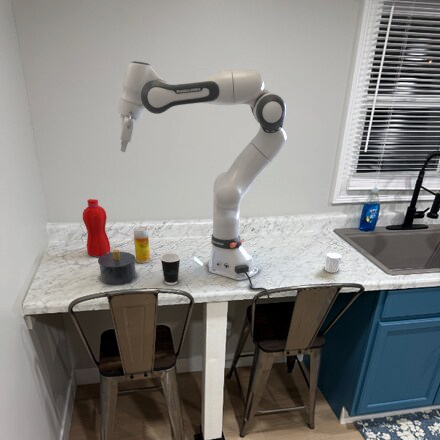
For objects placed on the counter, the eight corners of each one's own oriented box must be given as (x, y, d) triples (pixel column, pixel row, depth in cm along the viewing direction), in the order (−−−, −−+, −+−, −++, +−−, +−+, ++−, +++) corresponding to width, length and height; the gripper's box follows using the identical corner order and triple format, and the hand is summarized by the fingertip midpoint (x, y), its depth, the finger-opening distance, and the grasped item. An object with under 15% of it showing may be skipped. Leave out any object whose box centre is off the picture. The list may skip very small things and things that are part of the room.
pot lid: (141, 257, 166) (141, 246, 163) (125, 271, 153) (124, 260, 151) (109, 252, 169) (108, 242, 167) (91, 266, 157) (89, 255, 154)
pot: (143, 269, 171) (142, 253, 167) (122, 290, 155) (121, 272, 151) (115, 265, 174) (113, 249, 170) (91, 284, 158) (88, 267, 154)
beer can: (147, 264, 176) (144, 231, 169) (133, 262, 177) (131, 230, 169) (151, 258, 181) (149, 227, 174) (139, 257, 182) (136, 225, 175)
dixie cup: (171, 275, 167) (170, 251, 161) (185, 281, 163) (184, 256, 157) (157, 282, 161) (155, 257, 156) (171, 288, 157) (170, 263, 152)
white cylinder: (330, 274, 173) (332, 259, 169) (319, 268, 178) (322, 253, 174) (342, 271, 175) (345, 256, 172) (331, 265, 181) (334, 251, 177)
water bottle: (114, 248, 190) (108, 196, 177) (104, 258, 180) (98, 203, 168) (95, 247, 191) (88, 194, 179) (85, 256, 181) (77, 201, 169)
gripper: (140, 118, 138) (131, 157, 144) (139, 108, 155) (131, 144, 161) (121, 112, 136) (113, 152, 142) (122, 103, 153) (115, 139, 159)
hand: (123, 148), depth 152 cm, fingers open, 8 cm apart
